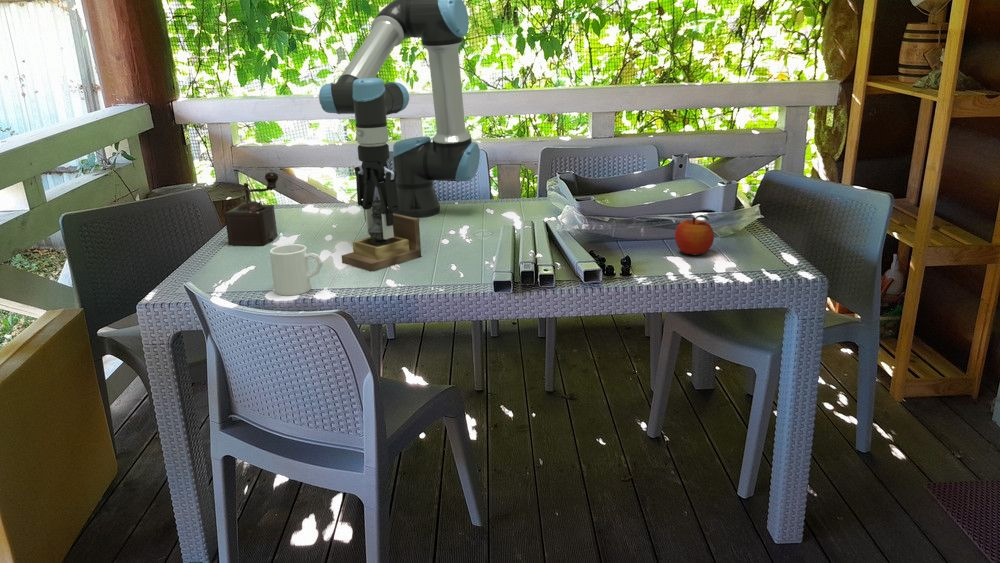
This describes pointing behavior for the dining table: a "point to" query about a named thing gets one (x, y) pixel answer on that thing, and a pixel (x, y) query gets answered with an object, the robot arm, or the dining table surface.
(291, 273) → the mug
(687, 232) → the fruit
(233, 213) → the manual coffee grinder
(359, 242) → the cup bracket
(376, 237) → the salt shaker
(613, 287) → the dining table surface
